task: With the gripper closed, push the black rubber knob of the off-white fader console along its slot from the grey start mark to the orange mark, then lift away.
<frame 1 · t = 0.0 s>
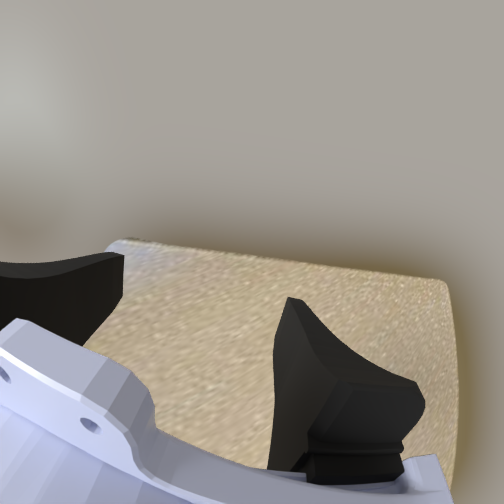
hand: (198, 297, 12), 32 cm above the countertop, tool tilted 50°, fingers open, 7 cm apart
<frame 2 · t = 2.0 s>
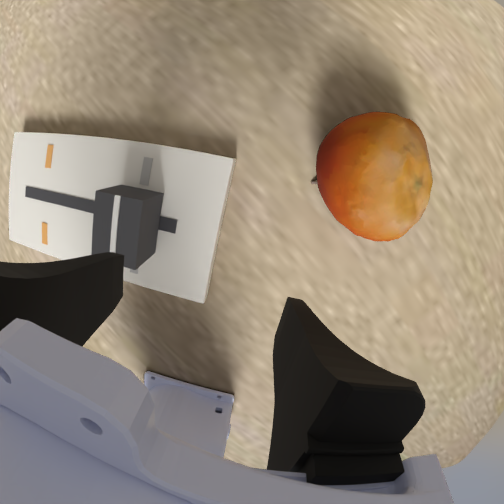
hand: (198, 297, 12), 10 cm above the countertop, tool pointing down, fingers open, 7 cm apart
fader console: (96, 202, 22), on the countertop
fruit: (360, 171, 20), on the countertop
fader knob: (126, 224, 18), point 4 cm above the countertop, slide at -5.0 cm
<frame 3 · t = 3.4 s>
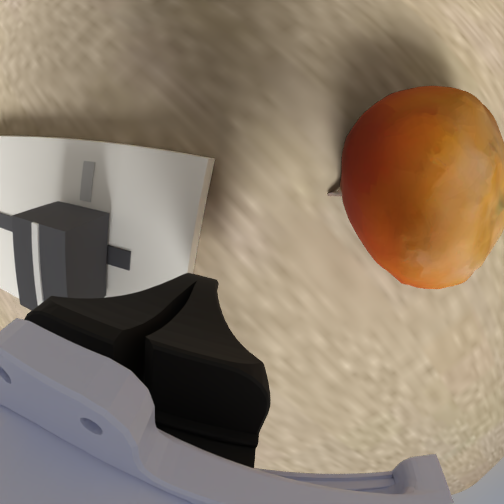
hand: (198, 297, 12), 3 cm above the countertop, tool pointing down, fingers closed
fader console: (39, 222, 15), on the countertop
fruit: (397, 177, 13), on the countertop
fader knob: (60, 260, 11), point 4 cm above the countertop, slide at -5.0 cm
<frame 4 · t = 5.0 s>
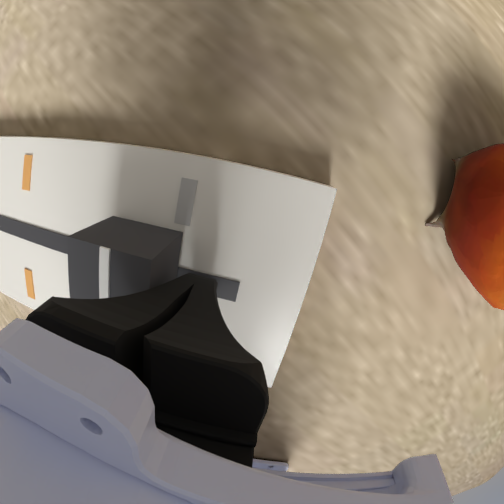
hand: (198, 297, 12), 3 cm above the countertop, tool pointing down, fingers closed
fader console: (101, 242, 15), on the countertop
fruit: (475, 209, 13), on the countertop
fader knob: (124, 285, 11), point 4 cm above the countertop, slide at -3.4 cm, touching gripper
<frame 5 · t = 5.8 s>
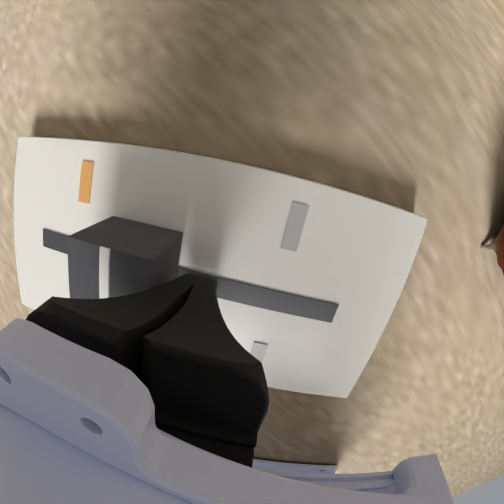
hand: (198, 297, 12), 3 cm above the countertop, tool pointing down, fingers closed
fader console: (178, 263, 15), on the countertop
fader knob: (124, 285, 11), point 4 cm above the countertop, slide at 1.3 cm, touching gripper
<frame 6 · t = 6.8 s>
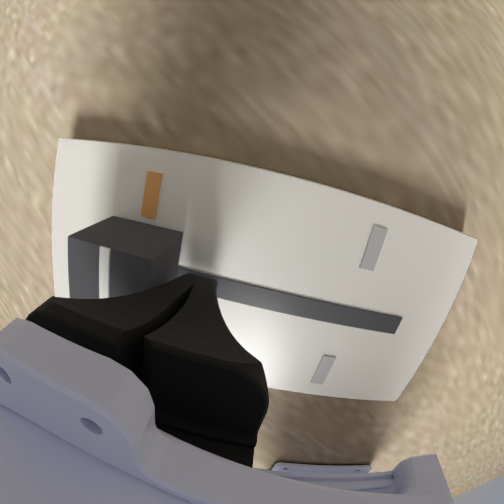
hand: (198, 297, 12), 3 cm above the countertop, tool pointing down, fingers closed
fader console: (248, 280, 15), on the countertop
fader knob: (124, 285, 11), point 4 cm above the countertop, slide at 4.9 cm, touching gripper
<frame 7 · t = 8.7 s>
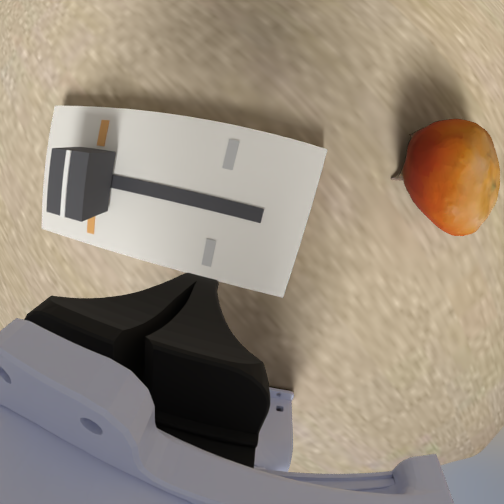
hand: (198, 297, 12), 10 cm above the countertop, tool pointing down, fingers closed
fader console: (159, 187, 21), on the countertop
fruit: (431, 171, 19), on the countertop
fader knob: (79, 180, 17), point 4 cm above the countertop, slide at 5.1 cm
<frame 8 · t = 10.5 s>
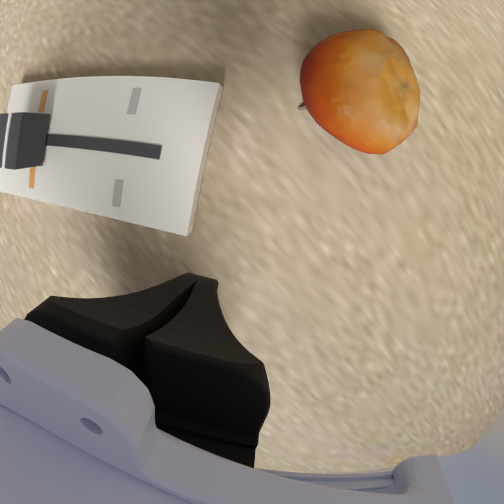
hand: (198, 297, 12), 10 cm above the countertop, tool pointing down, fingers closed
fader console: (84, 141, 20), on the countertop
fruit: (348, 99, 18), on the countertop
fader knob: (20, 139, 17), point 4 cm above the countertop, slide at 5.1 cm
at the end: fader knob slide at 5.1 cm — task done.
